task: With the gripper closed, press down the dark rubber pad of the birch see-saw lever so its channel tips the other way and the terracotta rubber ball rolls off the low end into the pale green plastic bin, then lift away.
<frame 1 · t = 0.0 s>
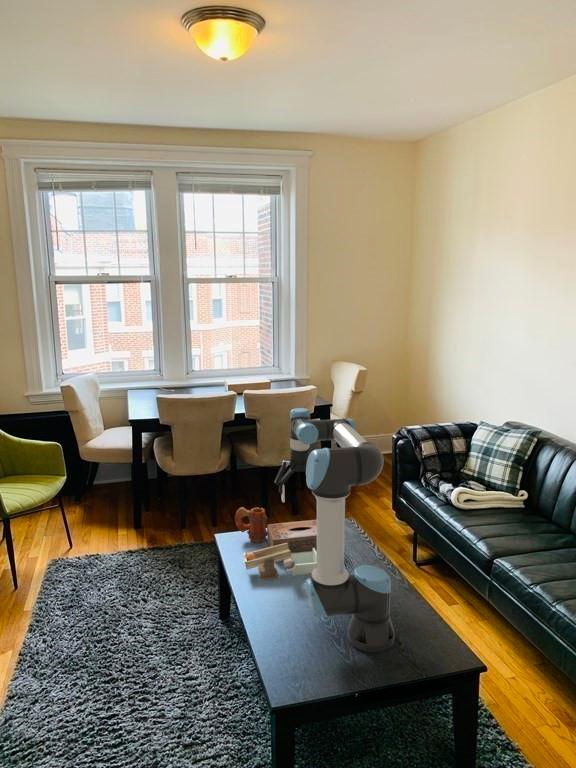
hand: (300, 499, 221), 28 cm above the table, fingers open, 13 cm apart
lever: (268, 560, 216), point 7 cm above the table, hinge at -10.0°, touching ball
tissue box cover: (300, 551, 239), on the table
bin: (303, 568, 224), on the table
ball: (250, 557, 219), point 7 cm above the table, tilted 15°, touching lever
mug: (252, 540, 248), on the table
fulcrum: (268, 572, 221), on the table
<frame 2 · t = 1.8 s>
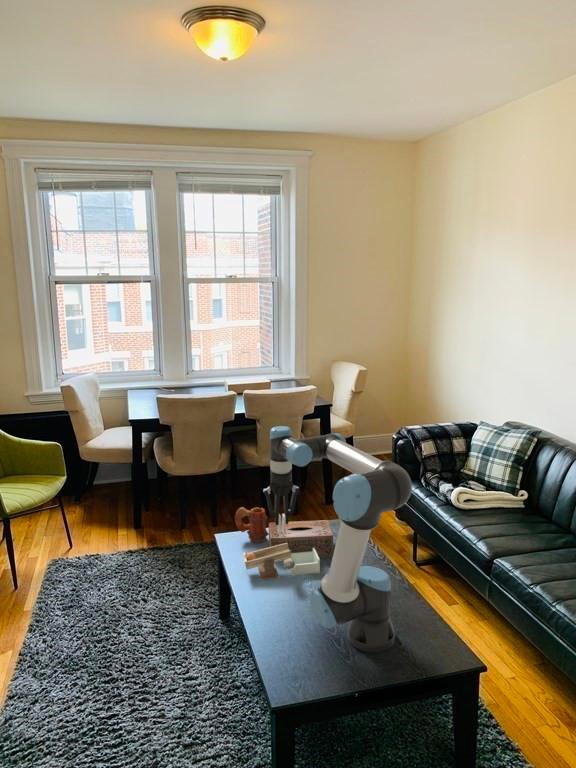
hand: (281, 532, 201), 24 cm above the table, fingers closed
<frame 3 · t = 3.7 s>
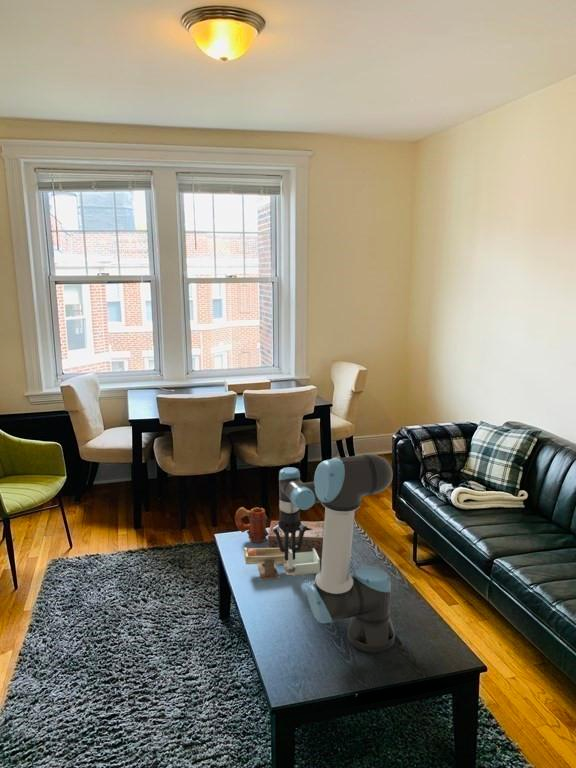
hand: (289, 567, 212), 7 cm above the table, fingers closed
lever: (269, 560, 216), point 7 cm above the table, hinge at 4.6°, touching ball, gripper
ball: (251, 553, 218), point 9 cm above the table, touching lever
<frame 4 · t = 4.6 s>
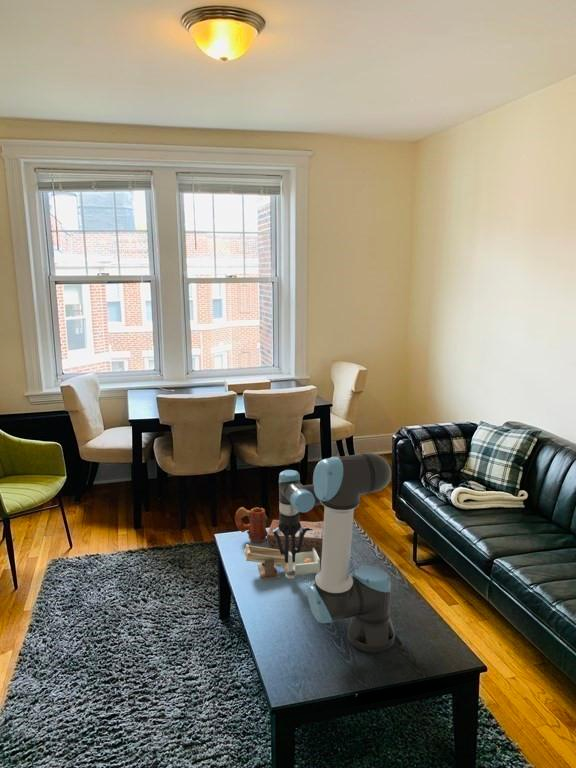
hand: (289, 569, 212), 6 cm above the table, fingers closed
lever: (270, 560, 216), point 7 cm above the table, hinge at 14.3°, touching gripper
ball: (308, 562, 224), point 2 cm above the table, tilted 106°, touching bin
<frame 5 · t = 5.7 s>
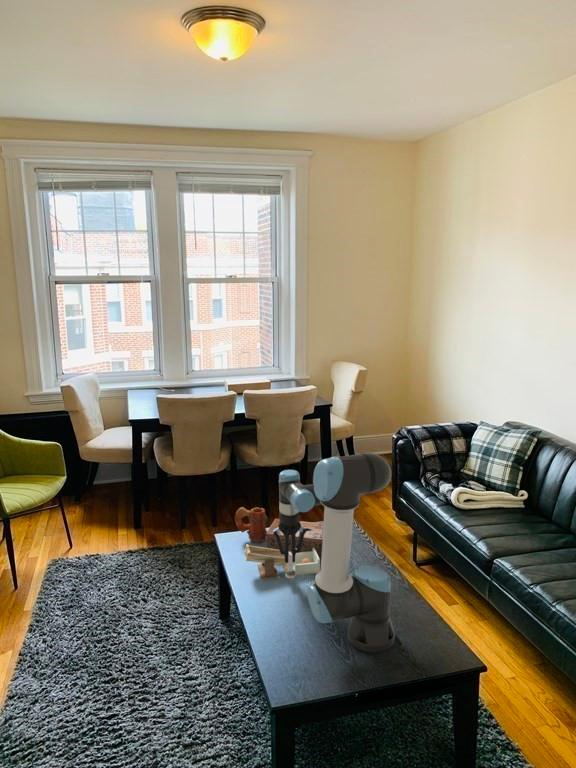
hand: (289, 569, 212), 6 cm above the table, fingers closed
lever: (270, 560, 216), point 7 cm above the table, hinge at 14.3°
ball: (306, 562, 223), point 2 cm above the table, tilted 72°, touching bin
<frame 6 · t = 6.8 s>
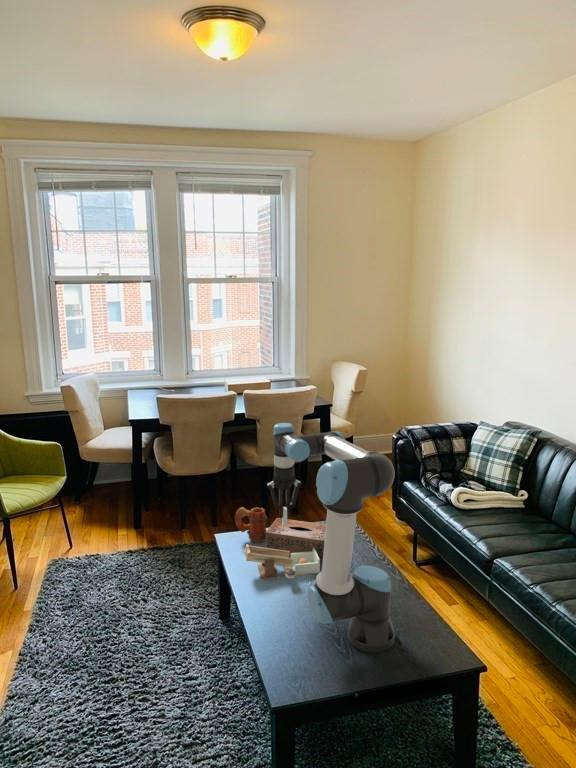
hand: (284, 524, 211), 23 cm above the table, fingers closed
ball: (303, 563, 223), point 2 cm above the table, tilted 37°, touching bin
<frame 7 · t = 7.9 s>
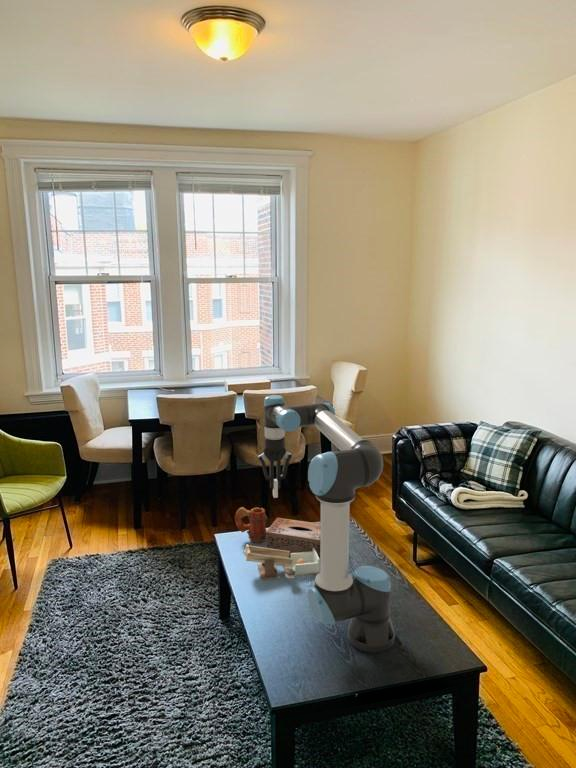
hand: (275, 496, 213), 32 cm above the table, fingers closed
ball: (300, 563, 223), point 2 cm above the table, touching bin
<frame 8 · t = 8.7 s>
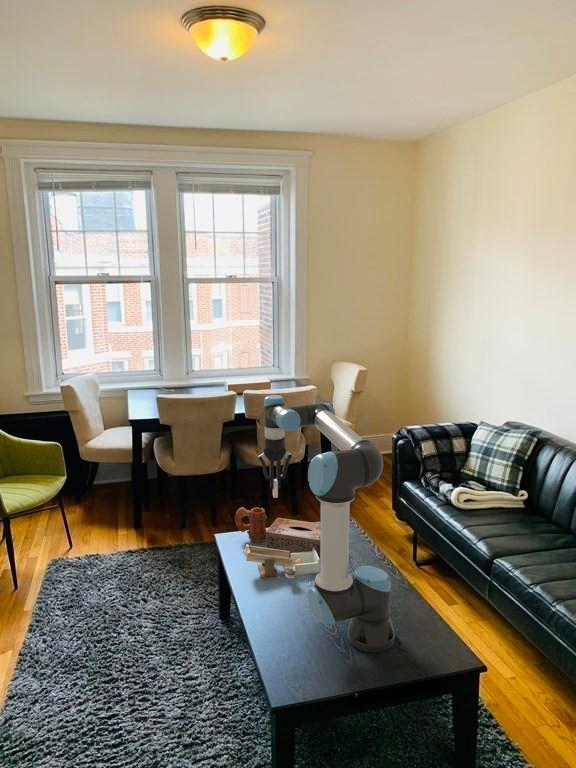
hand: (275, 496, 213), 32 cm above the table, fingers closed
ball: (299, 563, 223), point 2 cm above the table, tilted 22°, touching bin
at the end: ball inside the target area on the bin (2.0 cm from its centre), point 2.3 cm above the bin's base; lever at +14° (first picture: -10°) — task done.
